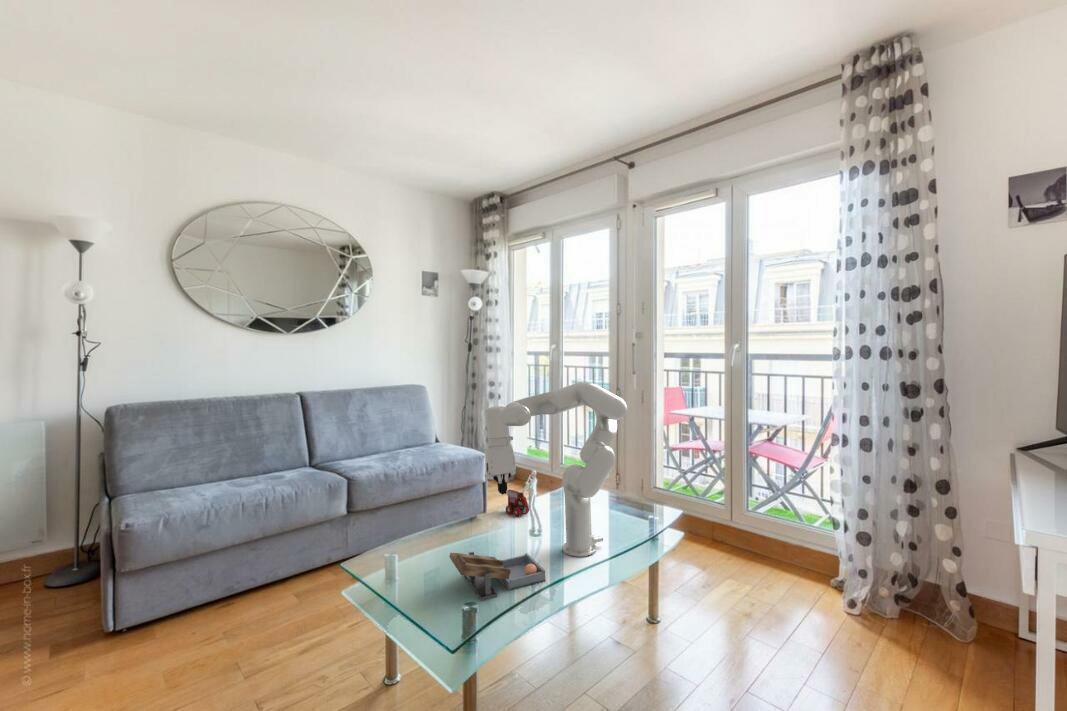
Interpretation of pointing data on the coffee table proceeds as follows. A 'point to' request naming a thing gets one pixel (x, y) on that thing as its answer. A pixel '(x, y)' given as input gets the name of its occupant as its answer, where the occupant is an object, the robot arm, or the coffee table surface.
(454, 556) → the lever
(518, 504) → the red toy vehicle
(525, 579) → the tray
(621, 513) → the coffee table surface
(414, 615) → the coffee table surface
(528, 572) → the ball
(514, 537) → the coffee table surface
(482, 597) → the lever stand
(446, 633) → the coffee table surface
